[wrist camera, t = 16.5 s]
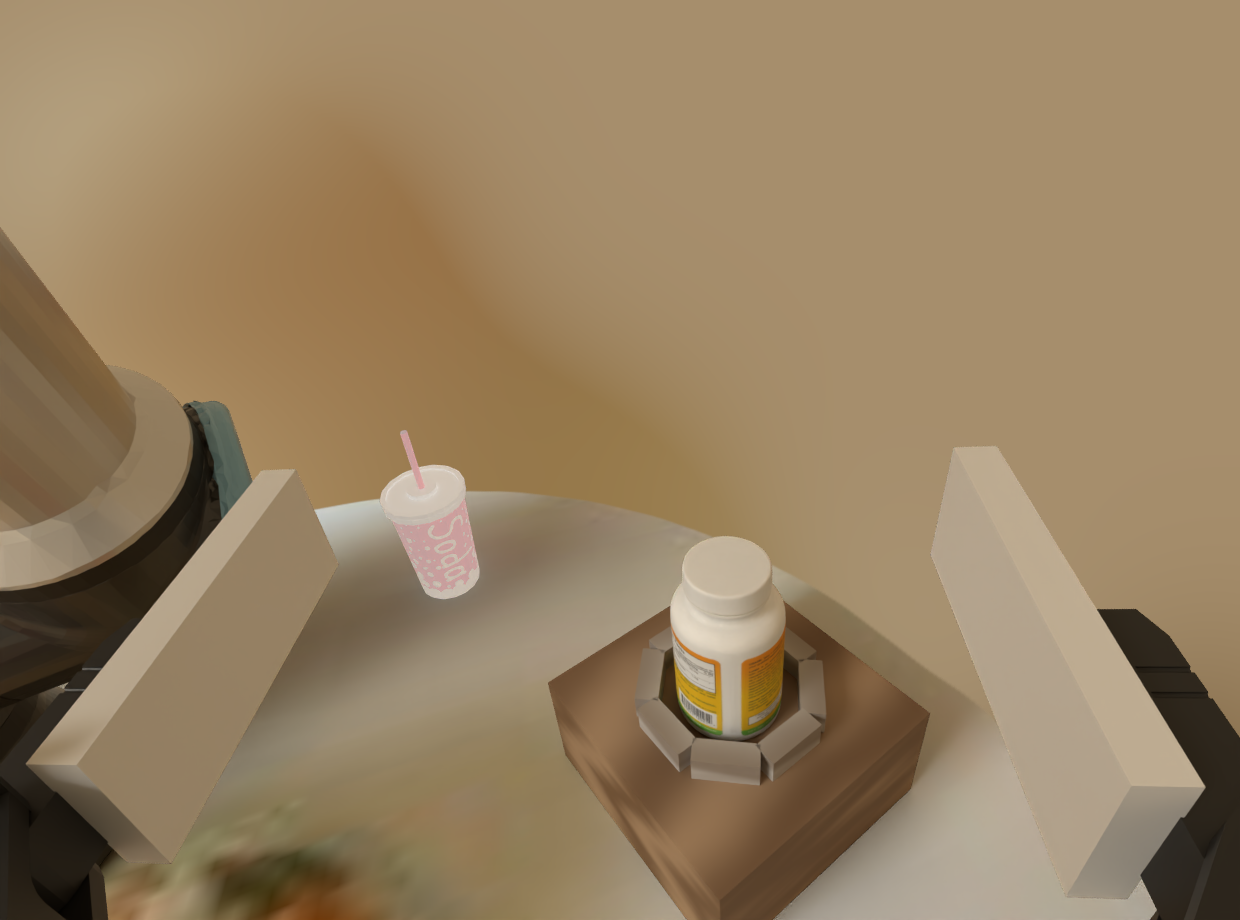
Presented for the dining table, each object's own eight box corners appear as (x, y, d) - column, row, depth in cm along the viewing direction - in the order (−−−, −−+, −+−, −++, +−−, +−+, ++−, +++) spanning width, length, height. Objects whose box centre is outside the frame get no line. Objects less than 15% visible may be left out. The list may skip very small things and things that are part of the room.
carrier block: (565, 754, 43) (543, 665, 38) (735, 637, 49) (735, 547, 44) (721, 967, 34) (719, 883, 29) (910, 789, 40) (935, 694, 35)
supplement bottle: (775, 656, 39) (781, 523, 34) (787, 745, 35) (796, 609, 29) (677, 657, 40) (667, 525, 34) (676, 744, 35) (664, 610, 30)
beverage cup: (416, 616, 54) (359, 467, 46) (409, 564, 59) (356, 421, 51) (495, 591, 55) (453, 443, 47) (482, 543, 60) (442, 400, 52)
